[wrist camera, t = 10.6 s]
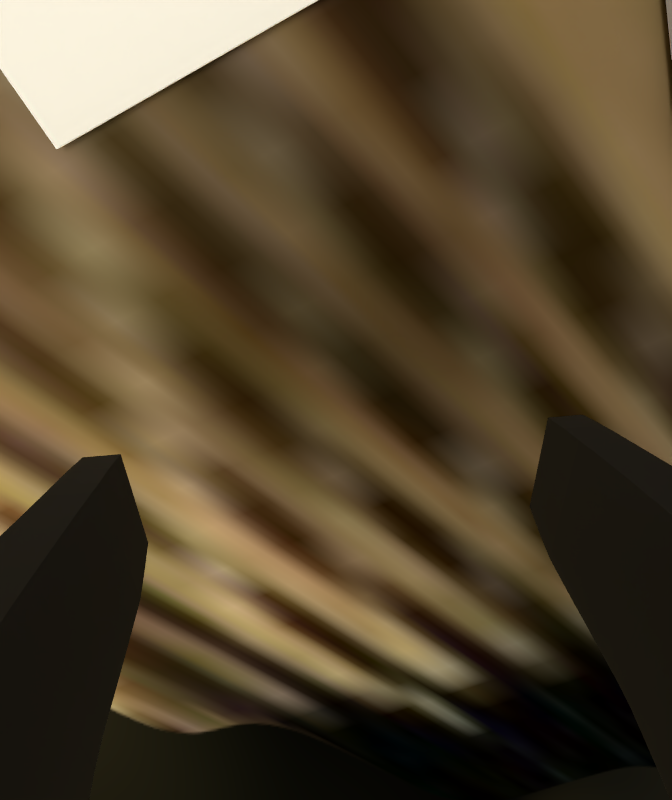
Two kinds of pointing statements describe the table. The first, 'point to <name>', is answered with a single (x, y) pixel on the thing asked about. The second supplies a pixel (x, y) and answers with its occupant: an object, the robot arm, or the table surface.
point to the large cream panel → (117, 51)
